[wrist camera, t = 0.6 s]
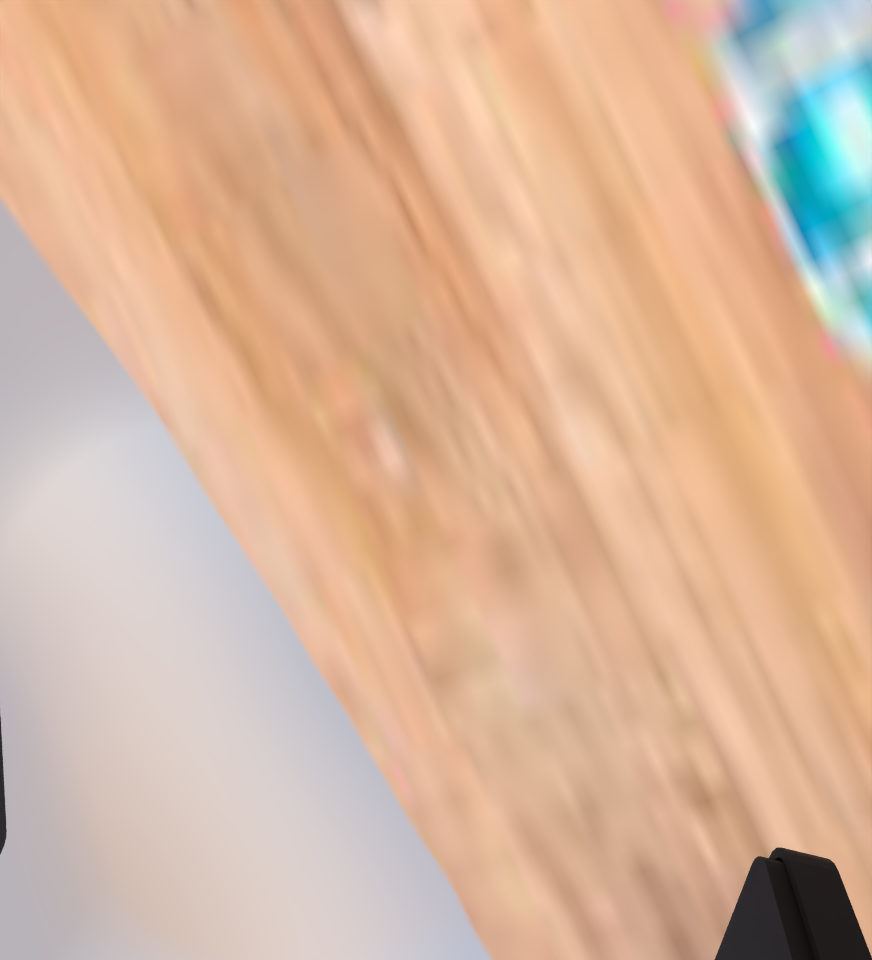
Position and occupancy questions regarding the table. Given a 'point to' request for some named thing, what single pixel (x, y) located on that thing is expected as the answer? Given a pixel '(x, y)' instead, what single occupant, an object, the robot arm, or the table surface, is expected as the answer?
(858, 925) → the robot arm
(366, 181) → the table surface
